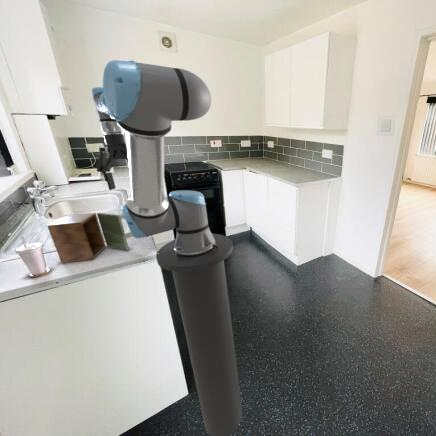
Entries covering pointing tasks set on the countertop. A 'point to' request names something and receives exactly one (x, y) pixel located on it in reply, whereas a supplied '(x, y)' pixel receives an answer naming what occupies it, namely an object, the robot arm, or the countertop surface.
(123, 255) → the countertop surface
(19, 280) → the countertop surface
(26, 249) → the smoothie
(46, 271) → the coaster
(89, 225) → the cabinet
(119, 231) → the door
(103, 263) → the countertop surface
